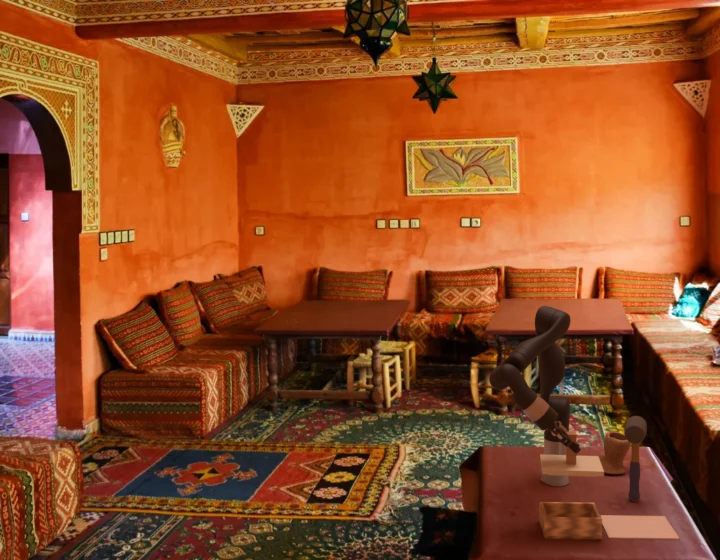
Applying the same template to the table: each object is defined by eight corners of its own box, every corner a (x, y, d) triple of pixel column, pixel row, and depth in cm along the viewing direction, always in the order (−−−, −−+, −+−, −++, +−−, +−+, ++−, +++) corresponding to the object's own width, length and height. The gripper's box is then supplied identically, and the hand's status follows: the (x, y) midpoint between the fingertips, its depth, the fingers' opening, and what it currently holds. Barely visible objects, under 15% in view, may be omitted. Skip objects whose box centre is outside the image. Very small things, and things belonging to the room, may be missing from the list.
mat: (609, 538, 264) (609, 537, 264) (598, 516, 281) (598, 515, 280) (679, 539, 262) (679, 538, 262) (664, 517, 279) (664, 516, 279)
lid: (542, 477, 262) (542, 439, 261) (539, 461, 276) (540, 425, 274) (603, 479, 259) (604, 441, 258) (598, 463, 273) (598, 427, 271)
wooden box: (544, 538, 265) (544, 518, 264) (539, 521, 277) (539, 501, 276) (601, 539, 263) (602, 518, 262) (593, 522, 276) (594, 502, 275)
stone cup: (633, 476, 316) (634, 438, 314) (602, 476, 316) (602, 439, 314) (622, 462, 331) (623, 426, 329) (592, 462, 331) (593, 426, 329)
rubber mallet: (644, 508, 286) (646, 425, 282) (621, 505, 289) (623, 423, 285) (646, 495, 297) (648, 415, 293) (624, 492, 300) (626, 413, 296)
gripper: (549, 411, 259) (589, 449, 259) (547, 398, 273) (584, 435, 272) (532, 426, 261) (571, 465, 260) (530, 413, 274) (567, 450, 274)
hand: (577, 449), depth 266 cm, fingers closed on lid, 3 cm apart
